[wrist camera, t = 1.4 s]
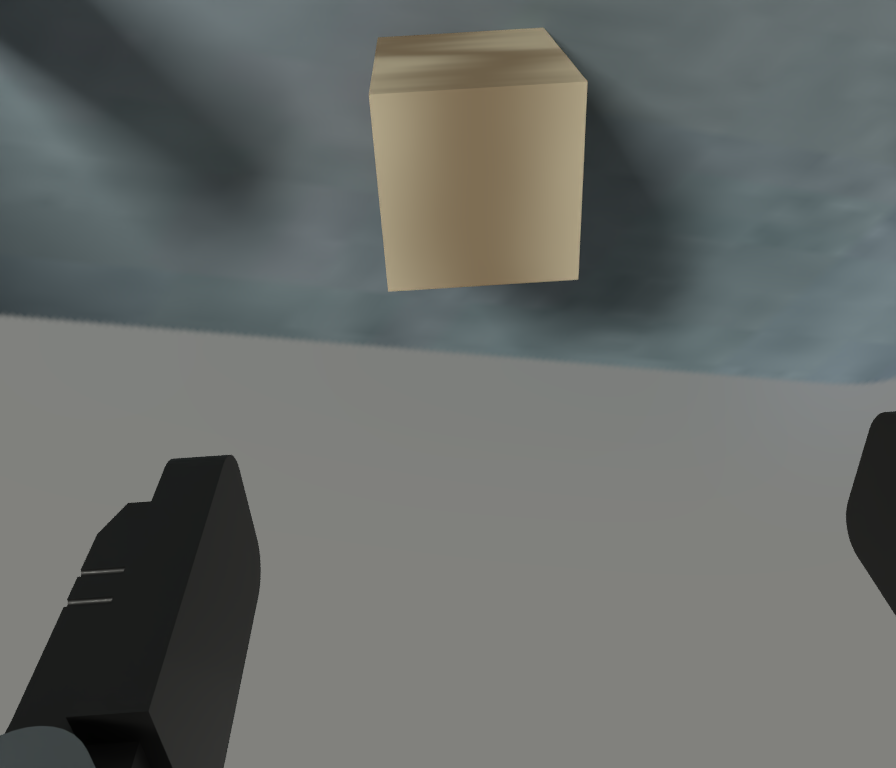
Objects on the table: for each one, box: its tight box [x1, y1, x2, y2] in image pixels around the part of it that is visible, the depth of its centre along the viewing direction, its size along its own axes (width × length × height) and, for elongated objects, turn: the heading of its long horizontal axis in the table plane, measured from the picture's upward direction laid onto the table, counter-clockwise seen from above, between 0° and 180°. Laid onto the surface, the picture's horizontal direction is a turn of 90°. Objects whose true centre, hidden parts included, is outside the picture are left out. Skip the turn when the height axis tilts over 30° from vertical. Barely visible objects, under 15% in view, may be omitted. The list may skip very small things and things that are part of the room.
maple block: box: [369, 28, 588, 292], centre depth 23 cm, size 5×5×7 cm
